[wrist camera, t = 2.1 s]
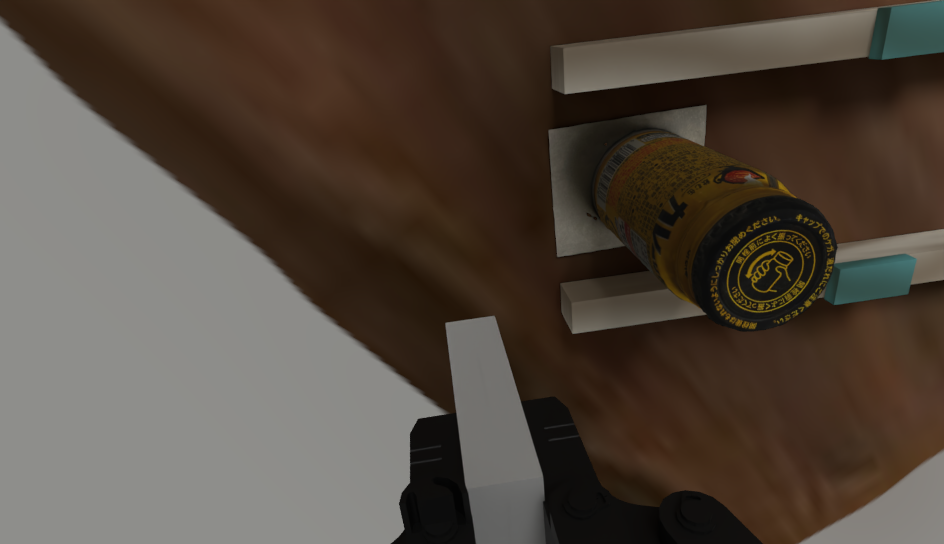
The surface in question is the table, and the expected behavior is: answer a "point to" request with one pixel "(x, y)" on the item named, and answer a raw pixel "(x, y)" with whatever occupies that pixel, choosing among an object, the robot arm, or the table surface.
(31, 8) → the table surface
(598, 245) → the condiment
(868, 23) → the rail track
